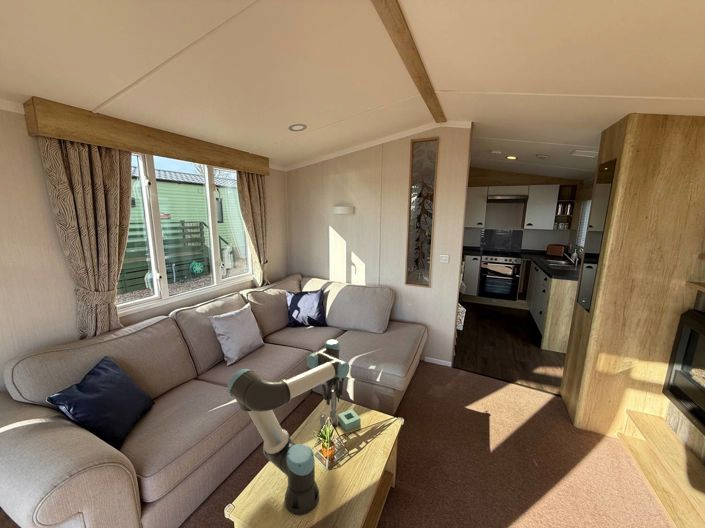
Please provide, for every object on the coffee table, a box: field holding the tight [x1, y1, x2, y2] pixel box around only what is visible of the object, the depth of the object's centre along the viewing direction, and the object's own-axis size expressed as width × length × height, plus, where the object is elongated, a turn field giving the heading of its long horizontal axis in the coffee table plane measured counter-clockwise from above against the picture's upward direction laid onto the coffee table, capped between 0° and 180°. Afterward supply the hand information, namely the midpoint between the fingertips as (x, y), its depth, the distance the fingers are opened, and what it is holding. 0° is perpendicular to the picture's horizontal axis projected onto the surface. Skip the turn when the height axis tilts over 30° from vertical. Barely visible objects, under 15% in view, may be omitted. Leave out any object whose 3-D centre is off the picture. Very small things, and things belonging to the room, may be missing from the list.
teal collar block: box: [337, 408, 362, 432], centre depth 182 cm, size 10×10×4 cm
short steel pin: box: [330, 414, 338, 427], centre depth 181 cm, size 3×3×5 cm
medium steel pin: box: [319, 413, 326, 431], centre depth 176 cm, size 3×3×9 cm
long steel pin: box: [329, 388, 337, 419], centre depth 165 cm, size 3×3×15 cm
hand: (332, 408), depth 166 cm, fingers closed on long steel pin, 3 cm apart
